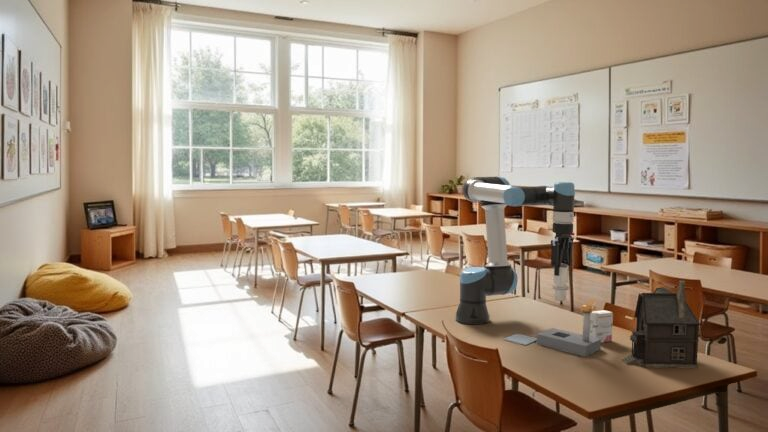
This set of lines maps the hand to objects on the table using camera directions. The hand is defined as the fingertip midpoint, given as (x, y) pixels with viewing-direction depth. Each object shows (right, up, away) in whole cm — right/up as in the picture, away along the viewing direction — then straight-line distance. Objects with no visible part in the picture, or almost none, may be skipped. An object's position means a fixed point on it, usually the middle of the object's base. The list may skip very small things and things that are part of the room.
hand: (560, 282), depth 215 cm
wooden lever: (+11, -12, -1) cm, 16 cm away
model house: (+29, -26, -14) cm, 41 cm away
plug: (0, -7, +1) cm, 7 cm away
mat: (-13, -24, +8) cm, 28 cm away
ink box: (+18, -24, +7) cm, 31 cm away
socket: (+3, -25, 0) cm, 25 cm away
